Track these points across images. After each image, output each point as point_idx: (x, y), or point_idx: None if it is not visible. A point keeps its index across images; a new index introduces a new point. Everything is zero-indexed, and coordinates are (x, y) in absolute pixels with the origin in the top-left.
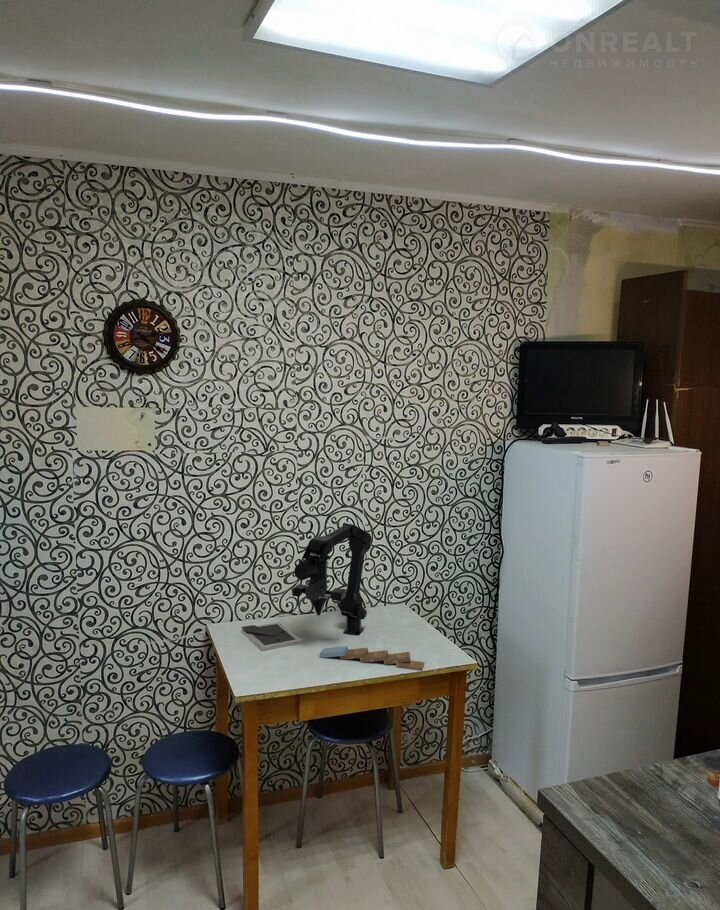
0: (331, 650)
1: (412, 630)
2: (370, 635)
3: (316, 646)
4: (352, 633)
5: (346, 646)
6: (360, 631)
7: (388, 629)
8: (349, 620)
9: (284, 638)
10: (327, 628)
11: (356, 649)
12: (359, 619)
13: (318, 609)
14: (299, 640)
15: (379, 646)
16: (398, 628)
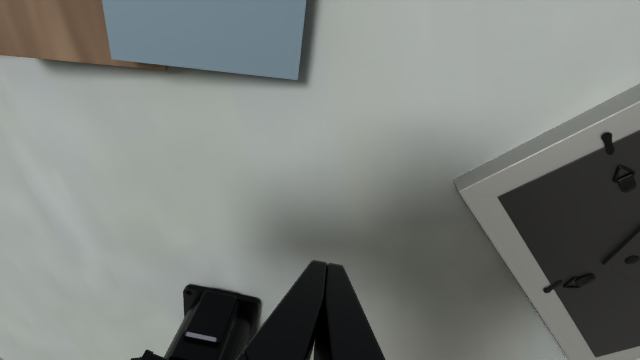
0: (220, 3)
1: (19, 330)
2: (142, 287)
3: (361, 152)
4: (211, 291)
5: (114, 48)
6: (187, 311)
7: (102, 334)
8: (206, 353)
9: (574, 202)
10: None
11: (57, 43)
12: (144, 353)
13: (308, 330)
14: (473, 184)
15: (50, 187)
16: (73, 342)
